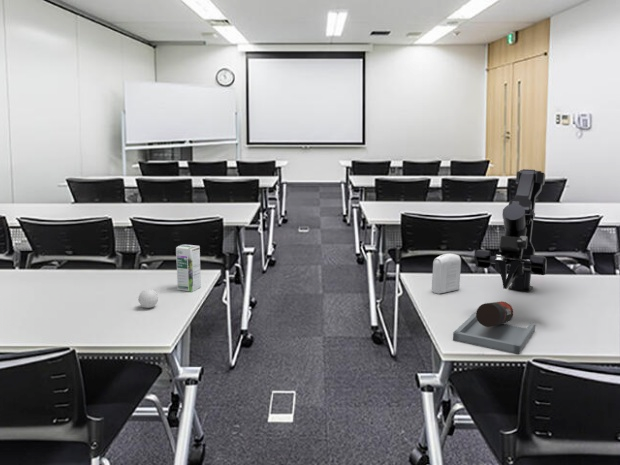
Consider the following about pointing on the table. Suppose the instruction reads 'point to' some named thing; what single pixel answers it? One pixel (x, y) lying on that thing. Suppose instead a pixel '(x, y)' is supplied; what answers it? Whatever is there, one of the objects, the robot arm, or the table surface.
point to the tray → (494, 335)
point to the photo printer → (446, 273)
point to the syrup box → (188, 267)
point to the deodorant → (494, 313)
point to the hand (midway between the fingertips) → (504, 288)
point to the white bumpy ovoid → (148, 298)
